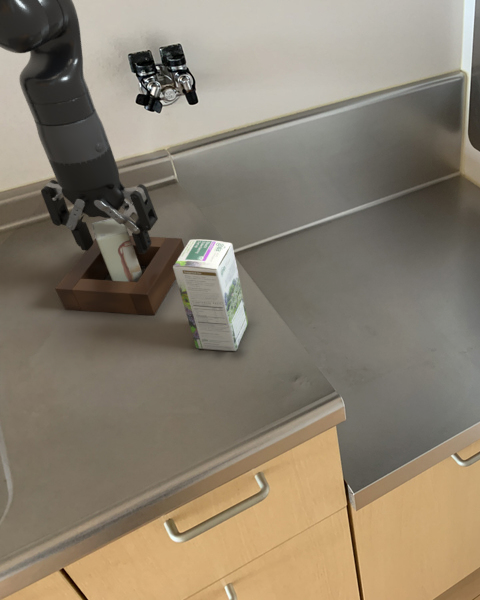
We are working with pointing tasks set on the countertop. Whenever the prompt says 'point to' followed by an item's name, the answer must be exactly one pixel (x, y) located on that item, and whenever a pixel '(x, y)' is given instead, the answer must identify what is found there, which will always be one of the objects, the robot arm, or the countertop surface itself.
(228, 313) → the syrup box
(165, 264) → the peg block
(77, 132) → the robot arm
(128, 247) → the white product box
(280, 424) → the countertop surface
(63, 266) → the countertop surface
